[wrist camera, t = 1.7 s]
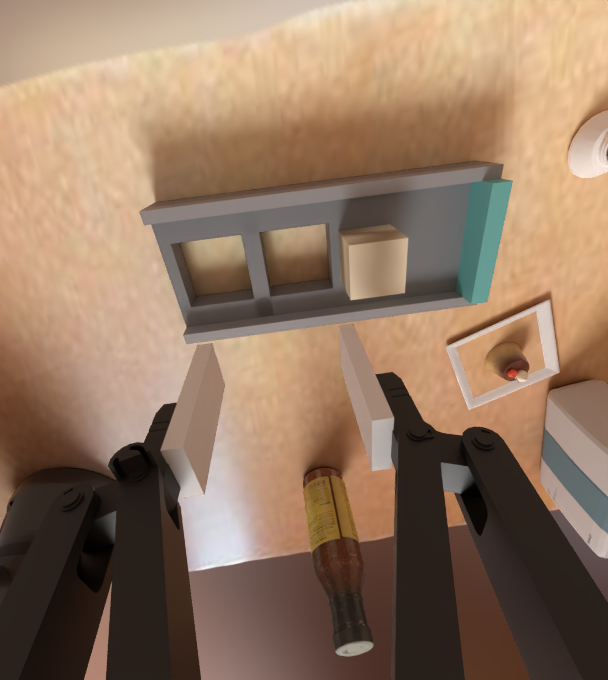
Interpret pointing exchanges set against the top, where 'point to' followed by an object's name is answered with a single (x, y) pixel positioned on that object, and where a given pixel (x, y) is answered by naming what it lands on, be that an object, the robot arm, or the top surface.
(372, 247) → the maple block
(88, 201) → the top surface
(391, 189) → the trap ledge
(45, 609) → the robot arm
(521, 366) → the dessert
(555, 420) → the stereo radio cassette player
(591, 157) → the white jar
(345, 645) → the sauce bottle
